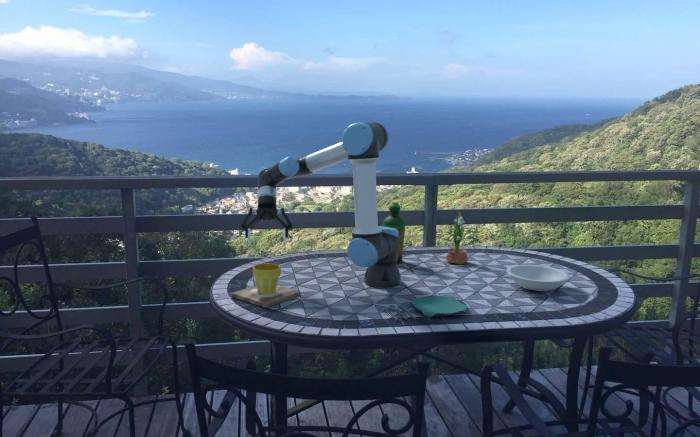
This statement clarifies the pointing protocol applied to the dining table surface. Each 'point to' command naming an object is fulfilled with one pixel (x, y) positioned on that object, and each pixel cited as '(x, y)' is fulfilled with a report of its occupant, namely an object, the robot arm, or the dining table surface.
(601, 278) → the dining table surface
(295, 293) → the trivet board
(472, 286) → the dining table surface
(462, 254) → the potted flower
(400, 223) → the bottle
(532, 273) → the soup bowl
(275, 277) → the plant pot
